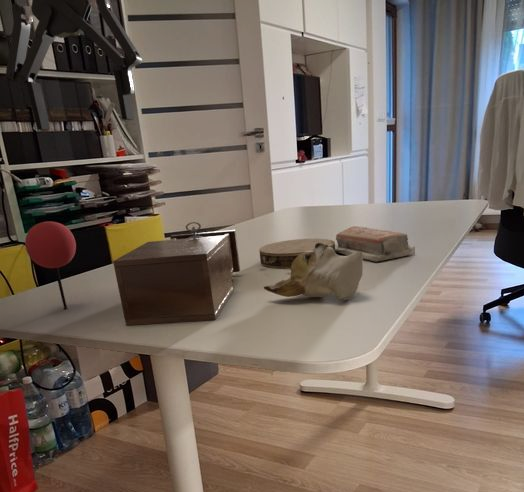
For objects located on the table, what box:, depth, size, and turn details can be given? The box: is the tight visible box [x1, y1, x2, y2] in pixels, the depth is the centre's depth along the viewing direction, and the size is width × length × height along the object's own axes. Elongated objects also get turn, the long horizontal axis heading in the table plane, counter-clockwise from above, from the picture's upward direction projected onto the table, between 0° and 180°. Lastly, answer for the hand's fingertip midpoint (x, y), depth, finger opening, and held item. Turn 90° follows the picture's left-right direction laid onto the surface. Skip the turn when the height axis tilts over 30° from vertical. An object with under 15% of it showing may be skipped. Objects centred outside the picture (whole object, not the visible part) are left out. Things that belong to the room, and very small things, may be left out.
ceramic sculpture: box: [263, 243, 364, 301], centre depth 81 cm, size 11×9×15 cm
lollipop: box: [24, 221, 77, 310], centre depth 89 cm, size 8×8×15 cm
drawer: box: [169, 229, 241, 276], centre depth 97 cm, size 20×13×8 cm, turn 173°
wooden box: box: [112, 235, 234, 326], centre depth 83 cm, size 16×14×10 cm
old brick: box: [335, 225, 416, 263], centre depth 109 cm, size 18×5×10 cm
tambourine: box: [258, 238, 336, 269], centre depth 110 cm, size 16×16×3 cm
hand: (85, 125), depth 80 cm, fingers open, 13 cm apart
